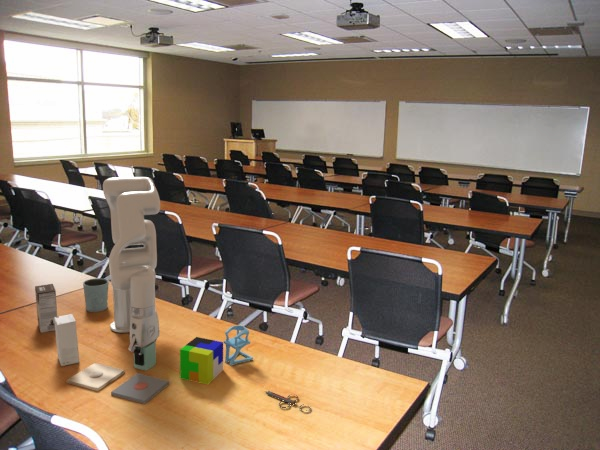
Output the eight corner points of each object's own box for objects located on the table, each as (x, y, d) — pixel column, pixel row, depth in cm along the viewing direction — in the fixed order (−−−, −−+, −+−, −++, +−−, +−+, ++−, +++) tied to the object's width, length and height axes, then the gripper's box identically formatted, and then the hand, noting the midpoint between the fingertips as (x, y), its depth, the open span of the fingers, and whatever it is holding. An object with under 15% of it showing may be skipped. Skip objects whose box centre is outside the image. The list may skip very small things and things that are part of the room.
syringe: (268, 387, 152) (268, 382, 152) (316, 406, 143) (317, 401, 143) (252, 397, 146) (252, 392, 146) (302, 419, 137) (302, 413, 136)
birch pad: (95, 365, 161) (94, 362, 160) (124, 372, 157) (124, 369, 157) (66, 382, 150) (66, 379, 149) (97, 391, 146) (97, 387, 145)
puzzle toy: (223, 370, 161) (223, 342, 159) (207, 384, 152) (207, 355, 150) (196, 364, 164) (196, 336, 162) (180, 378, 155) (179, 349, 153)
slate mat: (137, 376, 155) (137, 372, 155) (169, 383, 151) (169, 380, 151) (111, 394, 144) (111, 391, 144) (144, 403, 140) (144, 400, 140)
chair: (220, 360, 168) (220, 328, 165) (238, 352, 174) (239, 321, 171) (234, 368, 162) (234, 335, 160) (253, 359, 168) (253, 327, 166)
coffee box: (37, 324, 190) (34, 285, 187) (55, 321, 194) (52, 283, 191) (40, 333, 183) (37, 293, 180) (59, 329, 187) (56, 290, 183)
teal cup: (92, 303, 214) (91, 277, 212) (114, 305, 213) (113, 279, 210) (79, 311, 204) (77, 284, 202) (102, 313, 203) (100, 286, 201)
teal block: (143, 361, 165) (143, 339, 163) (156, 363, 163) (155, 341, 162) (134, 367, 160) (133, 345, 159) (146, 370, 159) (146, 348, 157)
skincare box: (79, 362, 162) (77, 321, 159) (60, 367, 159) (57, 324, 156) (75, 352, 169) (73, 312, 166) (56, 356, 166) (53, 316, 163)
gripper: (135, 321, 149) (137, 375, 152) (168, 302, 164) (169, 352, 168) (115, 316, 151) (118, 370, 155) (150, 299, 167) (151, 348, 171)
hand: (145, 360), depth 161 cm, fingers closed on teal block, 5 cm apart
